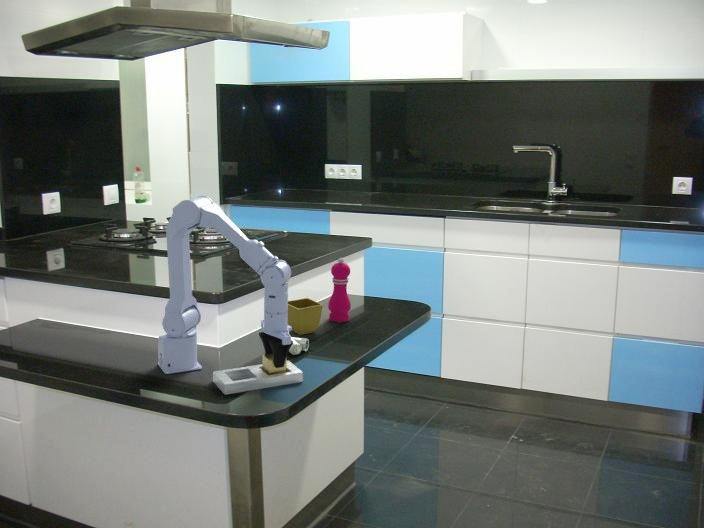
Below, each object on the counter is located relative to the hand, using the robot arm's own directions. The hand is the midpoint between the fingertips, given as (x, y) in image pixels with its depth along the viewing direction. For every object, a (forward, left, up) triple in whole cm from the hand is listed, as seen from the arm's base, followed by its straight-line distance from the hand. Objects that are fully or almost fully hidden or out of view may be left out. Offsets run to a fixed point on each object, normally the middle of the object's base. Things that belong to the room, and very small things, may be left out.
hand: (275, 363), depth 180 cm
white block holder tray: (-4, 0, -4) cm, 6 cm away
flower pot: (+22, +31, -4) cm, 38 cm away
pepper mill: (+38, +38, -4) cm, 54 cm away
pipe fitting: (+12, +17, -4) cm, 21 cm away
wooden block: (0, 0, -4) cm, 4 cm away
